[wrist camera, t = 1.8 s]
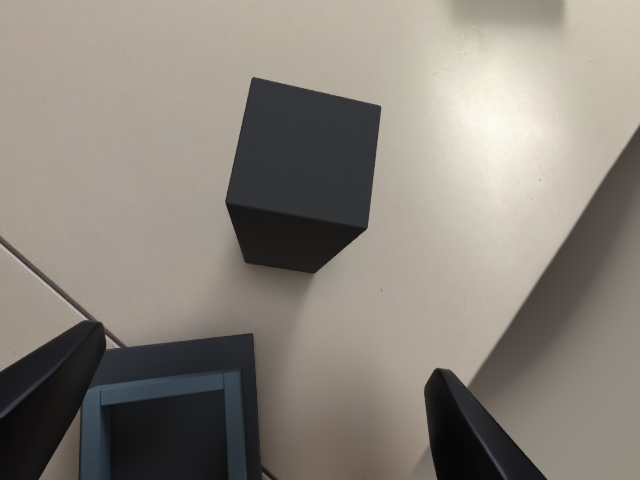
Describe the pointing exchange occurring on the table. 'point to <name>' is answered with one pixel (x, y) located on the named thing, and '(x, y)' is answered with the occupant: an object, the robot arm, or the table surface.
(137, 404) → the base pad
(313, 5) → the table surface
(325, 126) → the dark grey square block
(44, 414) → the robot arm
